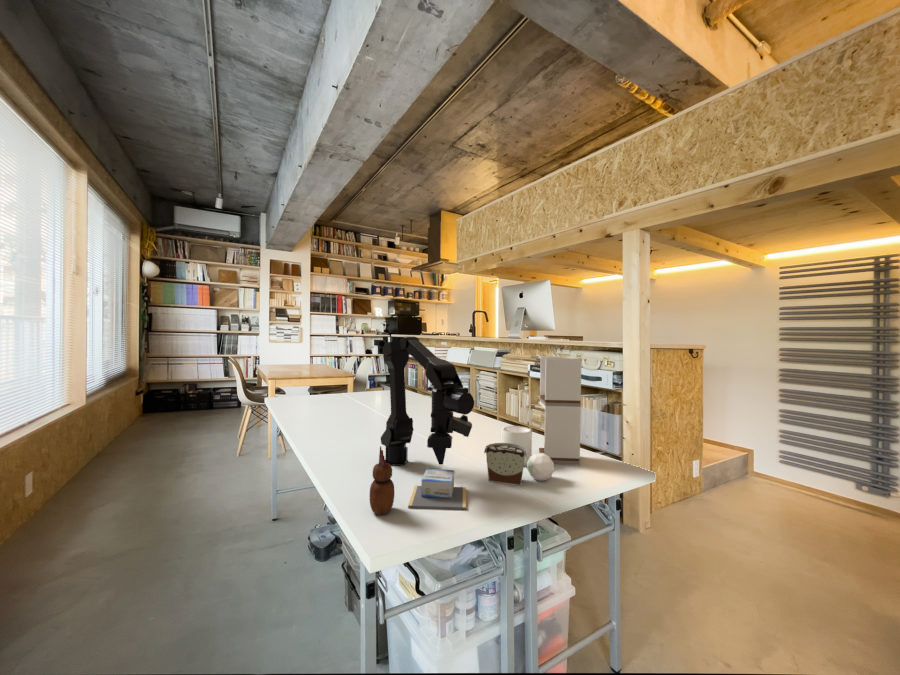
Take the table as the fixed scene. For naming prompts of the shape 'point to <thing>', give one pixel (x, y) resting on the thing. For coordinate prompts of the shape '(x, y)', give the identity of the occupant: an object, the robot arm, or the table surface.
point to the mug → (518, 438)
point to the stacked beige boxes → (561, 408)
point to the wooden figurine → (382, 487)
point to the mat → (439, 500)
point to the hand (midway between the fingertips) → (441, 464)
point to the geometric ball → (540, 466)
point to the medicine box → (437, 483)
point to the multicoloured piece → (505, 463)
